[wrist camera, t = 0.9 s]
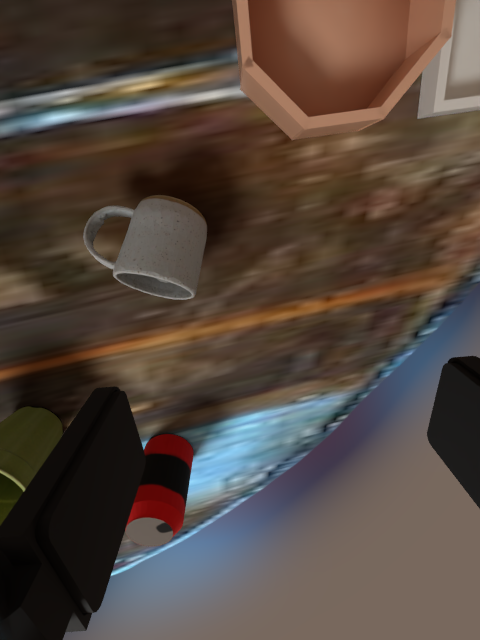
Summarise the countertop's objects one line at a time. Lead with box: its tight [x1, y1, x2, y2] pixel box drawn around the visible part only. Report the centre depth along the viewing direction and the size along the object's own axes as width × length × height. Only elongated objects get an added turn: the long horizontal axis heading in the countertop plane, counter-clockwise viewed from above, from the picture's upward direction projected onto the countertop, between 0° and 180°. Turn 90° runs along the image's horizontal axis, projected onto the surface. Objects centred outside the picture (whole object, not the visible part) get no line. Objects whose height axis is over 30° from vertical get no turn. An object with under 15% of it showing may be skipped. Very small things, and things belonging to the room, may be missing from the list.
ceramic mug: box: [83, 195, 207, 300], centre depth 27 cm, size 11×8×8 cm
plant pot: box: [0, 406, 63, 525], centre depth 38 cm, size 12×12×11 cm
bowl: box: [232, 0, 456, 140], centre depth 23 cm, size 16×16×6 cm
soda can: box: [125, 434, 193, 546], centre depth 40 cm, size 8×8×12 cm
